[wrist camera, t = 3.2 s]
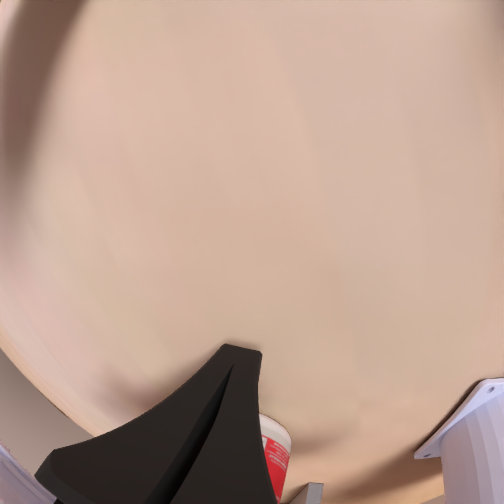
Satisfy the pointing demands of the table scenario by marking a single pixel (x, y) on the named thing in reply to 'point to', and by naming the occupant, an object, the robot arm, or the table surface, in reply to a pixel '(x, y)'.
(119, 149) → the table surface
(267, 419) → the pill bottle
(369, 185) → the table surface
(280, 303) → the table surface
